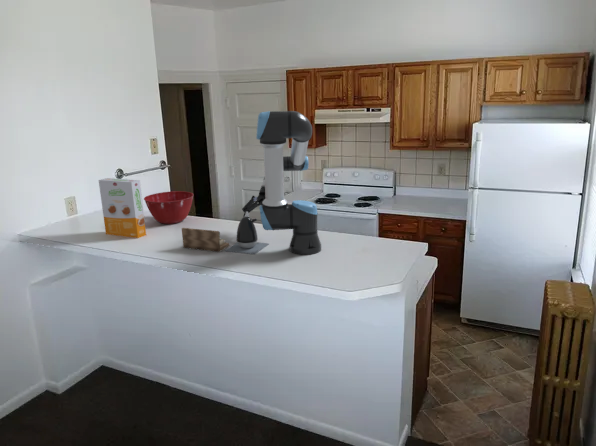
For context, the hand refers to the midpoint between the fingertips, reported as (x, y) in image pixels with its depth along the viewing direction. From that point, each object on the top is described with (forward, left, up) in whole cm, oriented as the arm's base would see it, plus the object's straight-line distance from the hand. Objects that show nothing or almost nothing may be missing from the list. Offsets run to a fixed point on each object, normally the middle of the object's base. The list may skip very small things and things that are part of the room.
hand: (256, 224), depth 233 cm
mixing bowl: (+67, -20, -9) cm, 70 cm away
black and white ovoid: (0, +11, -8) cm, 14 cm away
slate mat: (0, +11, -9) cm, 14 cm away
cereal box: (+74, +11, -9) cm, 75 cm away
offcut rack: (+20, +16, -9) cm, 27 cm away
